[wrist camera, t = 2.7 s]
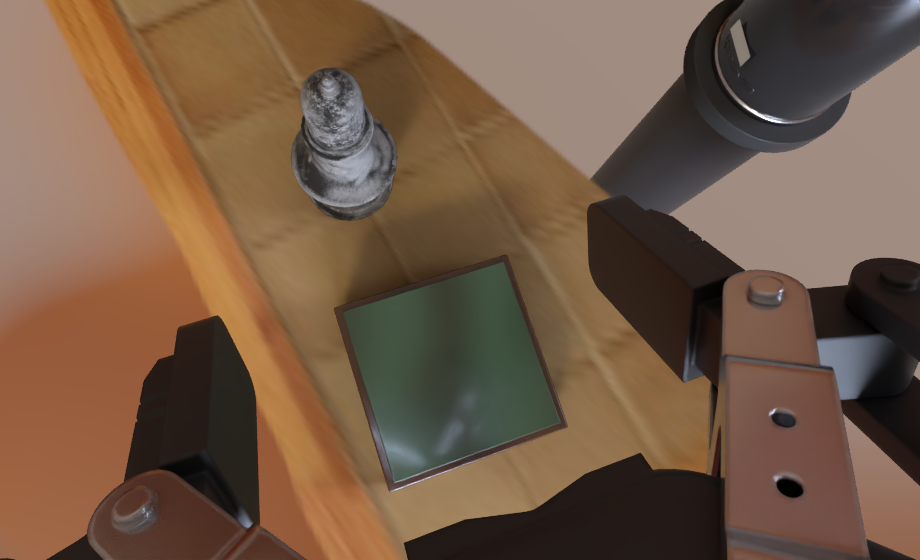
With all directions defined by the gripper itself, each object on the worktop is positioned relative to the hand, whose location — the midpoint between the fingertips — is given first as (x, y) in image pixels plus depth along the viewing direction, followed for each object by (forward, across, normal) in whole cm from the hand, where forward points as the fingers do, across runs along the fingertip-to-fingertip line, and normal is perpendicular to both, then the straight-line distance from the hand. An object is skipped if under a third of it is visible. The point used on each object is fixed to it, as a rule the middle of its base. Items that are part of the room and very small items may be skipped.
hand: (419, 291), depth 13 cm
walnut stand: (+15, -2, +17) cm, 23 cm away
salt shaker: (+24, 0, +8) cm, 26 cm away
